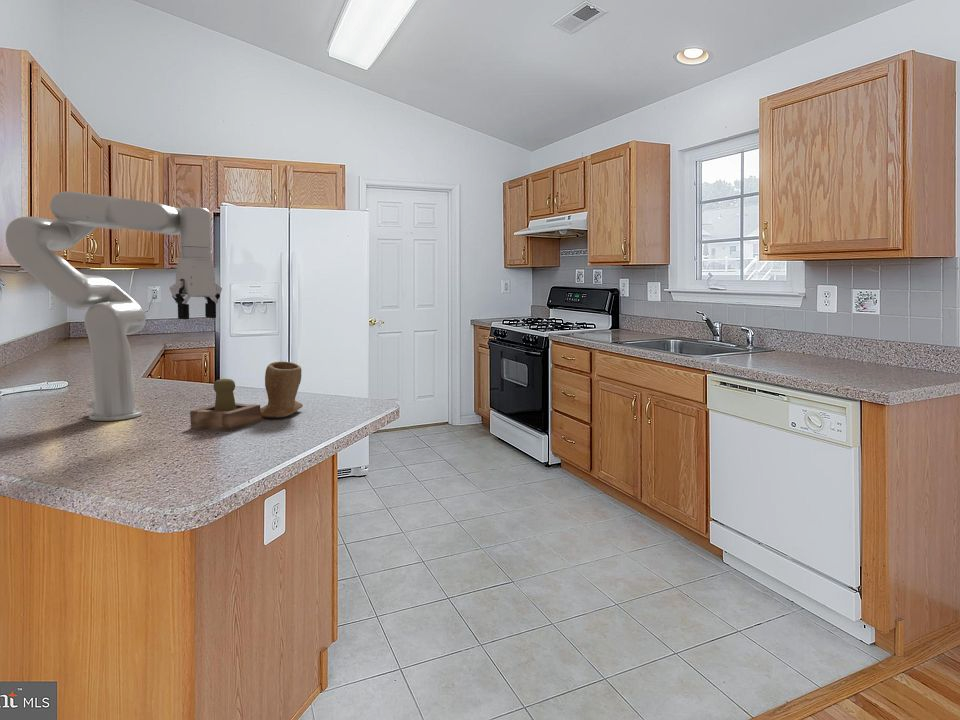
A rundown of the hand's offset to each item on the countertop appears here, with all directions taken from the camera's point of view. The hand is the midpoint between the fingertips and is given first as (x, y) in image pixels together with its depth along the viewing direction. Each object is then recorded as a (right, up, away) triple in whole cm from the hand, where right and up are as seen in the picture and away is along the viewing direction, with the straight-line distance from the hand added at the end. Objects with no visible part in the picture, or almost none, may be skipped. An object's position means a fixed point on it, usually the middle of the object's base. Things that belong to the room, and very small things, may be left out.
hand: (197, 318), depth 167 cm
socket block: (+11, -28, -6) cm, 31 cm away
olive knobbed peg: (+10, -27, -6) cm, 30 cm away
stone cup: (+21, -27, +6) cm, 35 cm away
